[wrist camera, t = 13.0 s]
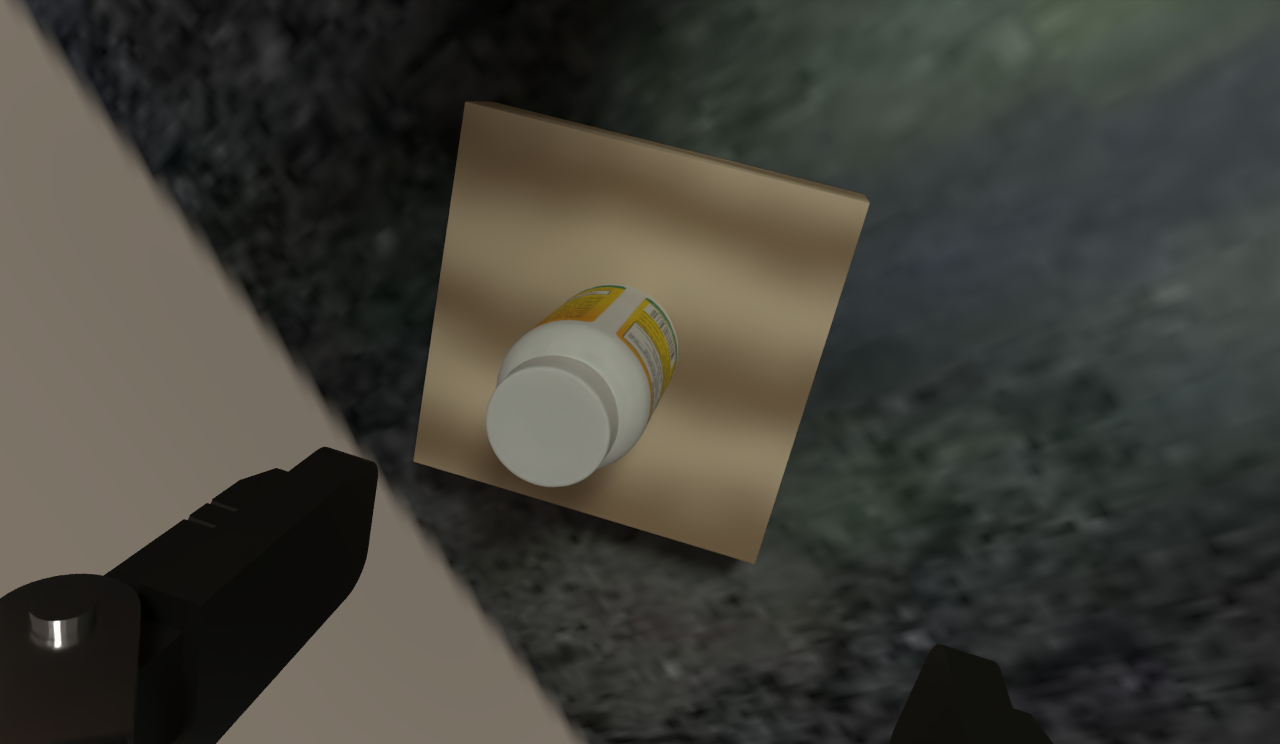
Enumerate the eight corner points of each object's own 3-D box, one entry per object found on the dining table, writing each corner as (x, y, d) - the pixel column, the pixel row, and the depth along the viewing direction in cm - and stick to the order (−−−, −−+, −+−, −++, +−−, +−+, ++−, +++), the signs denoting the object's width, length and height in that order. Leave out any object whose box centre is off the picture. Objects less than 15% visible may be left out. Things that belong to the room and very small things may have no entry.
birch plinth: (492, 101, 35) (465, 101, 33) (864, 194, 34) (869, 203, 31) (440, 436, 41) (413, 461, 38) (758, 530, 39) (754, 564, 36)
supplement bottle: (701, 316, 33) (663, 396, 24) (647, 426, 35) (592, 537, 26) (581, 257, 34) (499, 315, 25) (533, 369, 36) (441, 460, 27)
